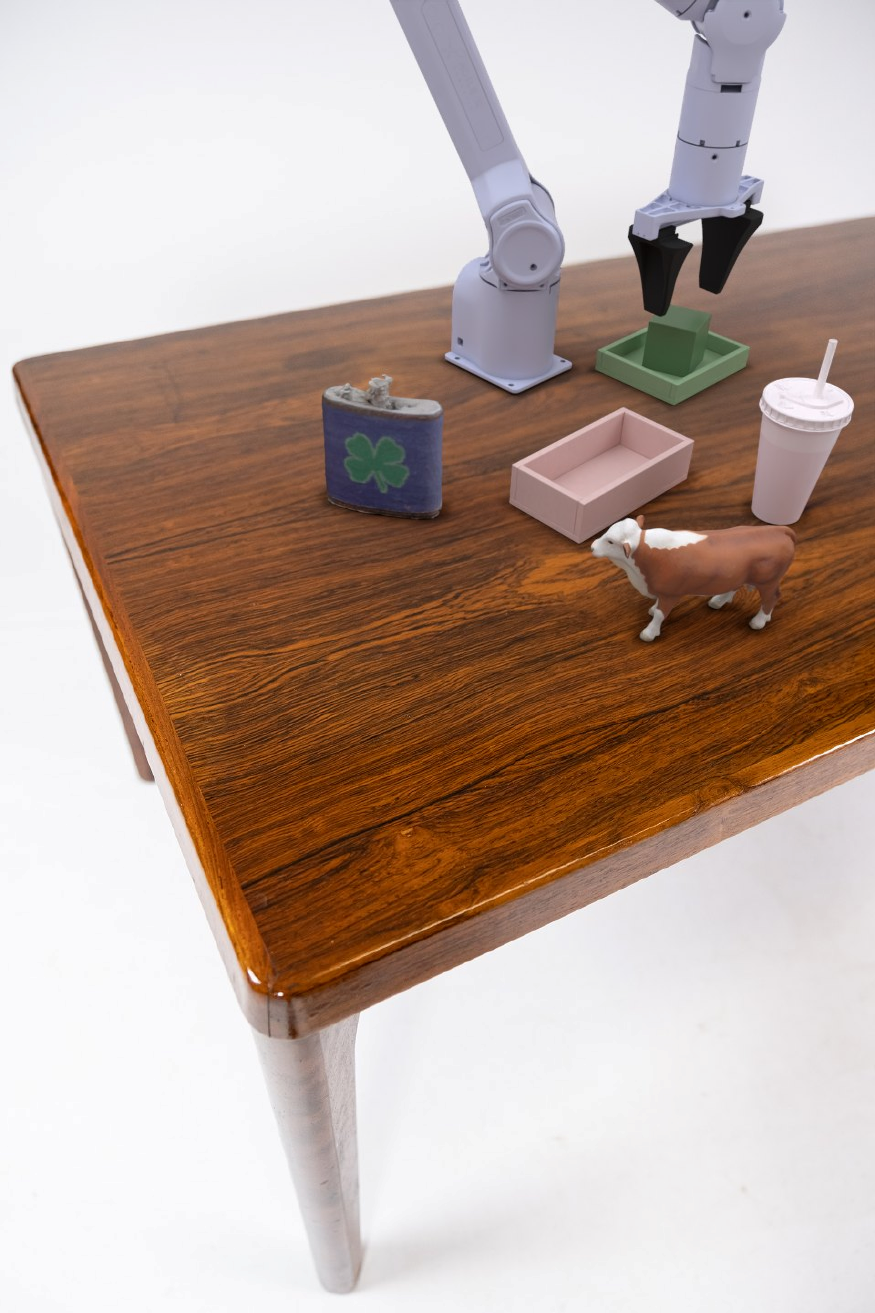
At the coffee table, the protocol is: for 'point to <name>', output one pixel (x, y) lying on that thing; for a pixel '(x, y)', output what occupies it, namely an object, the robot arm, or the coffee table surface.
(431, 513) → the flask
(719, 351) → the green tray
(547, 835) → the coffee table surface
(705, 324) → the green block
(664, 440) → the pink tray
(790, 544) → the bull figurine
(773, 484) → the smoothie
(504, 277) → the robot arm
